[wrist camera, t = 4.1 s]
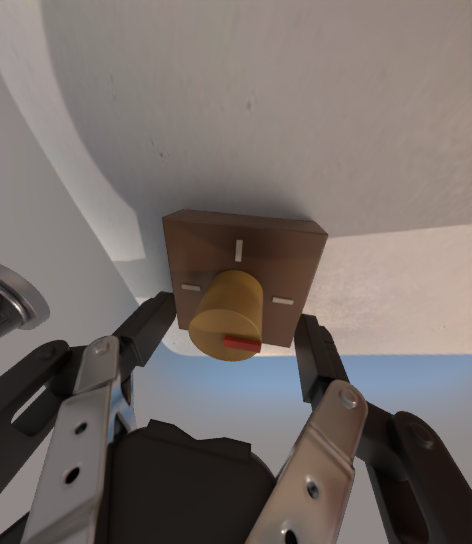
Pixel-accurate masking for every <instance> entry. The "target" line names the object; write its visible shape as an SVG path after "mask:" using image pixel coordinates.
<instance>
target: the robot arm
mask: <svg viewBox="0 0 472 544" xmlns="http://www.w3.org/2000/svg"><path fill="white" fill-rule="evenodd" d="M176 313H177V310H176V304H175V297H174V294H173V293H170V292H163V291H161V292H159V293H158V294H157V295H156V296H155V298H150V299H149V300H147V301H145V302H143V303H142V304H141V305H140V306H139V307H138V309H137V310H136V311H135V312H134V313H133V314H132V315H131V316H130V317H129V318H128V319H127V320H126V321H125V322H124V323H123V324H122V325H121V326H120V327H119V328H118V329H117V330H116V331H115V332H114V333H113V334H112V335H111V336H104V337H101V338H99V339H97V340H95V341H93V342H92V343H91V344H89V345H87V346H77V347H69V345H68V344H67V342H66V341H64V340H55V341H51V342H48V343H45V344H43V345H41V346H40V347H38V348H36V349H35V350H33V351H32V352H31V353H29V354H28V355H27V356H26V357H24V358H23V359H22V360H21V361H19V362H18V363H17V364H16V365H14V366H13V367H12V368H11V369H9V370H8V371H7V372H5V373H4V374H3V375H2V376H0V493H1V492H2V491H3V489H4V488H5V487H6V486H7V485H8V483H9V482H10V481H11V480H12V478H13V477H14V476H15V475H16V473H17V472H18V471H19V470H20V468H21V467H22V466H23V465H24V463H25V462H26V461H27V460H28V458H29V457H30V456H31V455H32V453H33V452H34V451H35V450H36V448H37V447H38V446H39V445H40V443H41V442H42V441H43V440H44V438H45V437H46V436H47V435H48V433H49V432H50V431H51V429H53V427H54V430H53V433H52V437H51V440H50V444H49V447H48V451H47V454H46V458H45V461H44V465H43V468H42V472H41V475H40V478H39V482H38V485H37V489H36V493H35V496H34V499H33V503H32V506H31V510H30V511H29V512H27V513H26V514H25V515H24V516H23V517H21V518H20V519H19V520H18V521H16V522H15V523H14V524H13V525H11V526H10V527H9V528H8V529H7V530H5V531H4V532H3V533H2V534H0V544H336V542H337V539H338V535H339V532H340V528H341V525H342V521H343V518H344V514H345V511H346V507H347V504H348V500H349V497H350V493H351V489H352V486H353V482H354V478H355V469H354V468H353V460H354V457H355V456H356V457H358V458H360V459H361V460H363V461H365V464H366V467H367V471H368V474H369V478H370V481H371V484H372V488H373V491H374V495H375V498H376V501H377V504H378V508H379V511H380V515H381V518H382V522H383V525H384V528H385V532H386V535H387V539H388V542H389V544H472V489H471V488H470V486H469V485H468V483H467V481H466V480H465V478H464V476H463V475H462V473H461V471H460V470H459V468H458V466H457V465H456V463H455V462H454V460H453V458H452V457H451V455H450V453H449V452H448V450H447V448H446V447H445V445H444V443H443V442H442V440H441V439H440V437H439V436H438V435H437V434H436V432H435V431H434V430H433V429H432V428H431V427H430V426H429V425H428V424H427V423H425V422H424V421H423V420H422V419H420V418H419V417H417V416H415V415H413V414H411V413H409V412H405V411H399V412H397V413H396V414H395V415H392V414H390V413H388V412H386V411H384V410H382V409H380V408H378V407H377V406H375V405H373V404H371V403H369V402H368V401H366V400H365V399H364V397H363V395H362V394H361V393H360V392H359V391H358V390H357V389H356V388H355V387H354V386H353V385H351V384H350V382H349V379H348V377H347V374H346V372H345V369H344V366H343V364H342V361H341V359H340V356H339V354H338V352H337V349H336V346H335V345H334V341H333V338H332V336H331V334H330V333H329V331H328V330H327V329H326V328H325V327H324V326H319V324H318V321H317V318H316V316H314V315H307V314H301V315H300V318H299V321H298V324H297V327H296V329H295V333H294V343H295V350H296V356H297V362H298V369H299V375H300V382H301V389H302V395H303V402H306V403H311V406H312V411H313V412H312V413H311V415H310V417H309V419H308V420H307V422H306V424H305V426H304V428H303V429H302V431H301V433H300V435H299V436H298V438H297V440H296V442H295V444H294V446H293V447H292V449H291V451H290V452H289V454H288V456H287V457H286V459H285V461H284V463H283V465H282V466H281V468H280V470H279V472H278V473H277V475H276V477H274V475H273V474H272V472H271V471H270V469H269V468H268V467H267V465H266V464H265V463H264V462H263V461H262V460H261V459H260V458H259V457H258V456H257V455H255V454H254V453H252V452H251V444H250V443H246V442H242V441H238V440H234V439H230V438H226V437H223V438H214V439H205V440H196V439H194V438H192V437H191V436H190V435H188V434H187V433H185V432H184V431H183V430H181V429H180V428H178V427H177V426H175V425H174V424H170V423H165V422H161V421H157V420H153V419H150V422H149V423H148V426H147V427H143V428H139V429H137V428H136V420H135V415H134V408H133V372H132V371H133V369H134V368H135V366H141V367H144V366H145V365H146V363H147V361H148V360H149V358H150V357H151V355H152V354H153V352H154V351H155V349H156V348H157V346H158V345H159V343H160V341H161V340H162V338H163V337H164V335H165V334H166V332H167V331H168V329H169V328H170V326H171V324H172V323H173V321H174V320H175V317H176ZM28 321H29V316H28V313H27V311H26V309H25V308H24V306H23V305H22V304H21V302H20V301H19V300H18V299H17V298H16V297H15V296H14V295H12V294H11V293H10V292H9V291H7V290H6V289H4V288H3V287H2V286H0V338H2V337H3V336H5V335H7V334H8V333H10V332H12V331H13V330H15V329H16V328H19V327H21V326H23V325H24V324H26V323H27V322H28ZM43 385H44V386H45V387H46V389H45V390H44V391H43V392H42V393H41V395H40V396H38V398H37V399H36V400H35V401H34V402H33V403H32V404H31V405H30V406H29V407H28V408H27V409H26V410H25V411H24V412H23V413H22V414H21V415H20V416H19V417H18V418H17V419H16V420H15V421H14V422H13V423H12V424H11V420H12V418H13V416H14V414H15V413H16V412H17V411H18V410H19V409H20V408H21V407H22V406H23V405H24V404H25V403H26V402H27V401H28V400H29V399H30V398H31V397H32V396H33V395H34V394H35V393H36V392H37V391H38V390H39V389H40V388H41V387H42V386H43Z"/></svg>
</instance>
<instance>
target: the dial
mask: <svg viewBox="0 0 472 544" xmlns="http://www.w3.org/2000/svg"><path fill="white" fill-rule="evenodd" d="M262 322H263V290H262V287H261V285H260V283H259V282H258V281H257V280H256V279H255V278H254V277H253V276H251V275H250V274H248V273H245V272H242V271H238V270H229V271H224V272H222V273H219V274H218V275H216V276H215V277H214V278H213V279H212V281H211V283H210V285H209V287H208V288H207V290H206V292H205V294H204V296H203V298H202V300H201V302H200V304H199V306H198V308H197V309H196V311H195V313H194V315H193V317H192V319H191V321H190V323H189V328H188V329H189V336H190V339H191V340H192V342H193V343H194V345H195V346H196V347H197V348H198V349H199V350H201V351H202V352H203V353H205V354H207V355H209V356H211V357H213V358H216V359H219V360H224V361H242V360H246V359H248V358H250V357H252V356H254V355H255V354H256V353H260V350H261V344H262Z"/></svg>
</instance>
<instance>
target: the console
mask: <svg viewBox="0 0 472 544" xmlns="http://www.w3.org/2000/svg"><path fill="white" fill-rule="evenodd" d="M162 222H163V228H164V234H165V241H166V247H167V254H168V260H169V267H170V273H171V280H172V286H173V293H174V297H175V304H176V310H177V319H178V325H179V329H183V330H189V329H188V328H189V323H190V321H191V319H192V317H193V315H194V313H195V311H196V309H197V308H198V306H199V304H200V302H201V300H202V298H203V296H204V294H205V292H206V290H207V288H208V287H209V285H210V283H211V281H212V279H213V278H214V277H215V276H216V275H218V274H219V273H222V272H224V271H229V270H238V271H242V272H245V273H248V274H250V275H251V276H253V277H254V278H255V279H256V280H257V281H258V282H259V283H260V285H261V287H262V290H263V322H262V343H264V344H270V345H276V346H281V347H287V348H290V346H291V343H292V340H293V337H294V333H295V329H296V327H297V324H298V321H299V318H300V315H301V314H302V311H303V308H304V305H305V302H306V299H307V296H308V293H309V290H310V288H311V285H312V282H313V279H314V276H315V273H316V270H317V267H318V264H319V261H320V258H321V255H322V252H323V249H324V247H325V244H326V241H327V238H328V234H327V233H326V232H325V231H324V230H323V229H322V228H321V227H320V226H319V225H318V224H317V223H316V222H311V221H300V220H290V219H279V218H269V217H259V216H248V215H238V214H227V213H217V212H206V211H196V210H185V209H182V210H179V211H177V212H174V213H172V214H170V215H167V216H165V217H162Z"/></svg>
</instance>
